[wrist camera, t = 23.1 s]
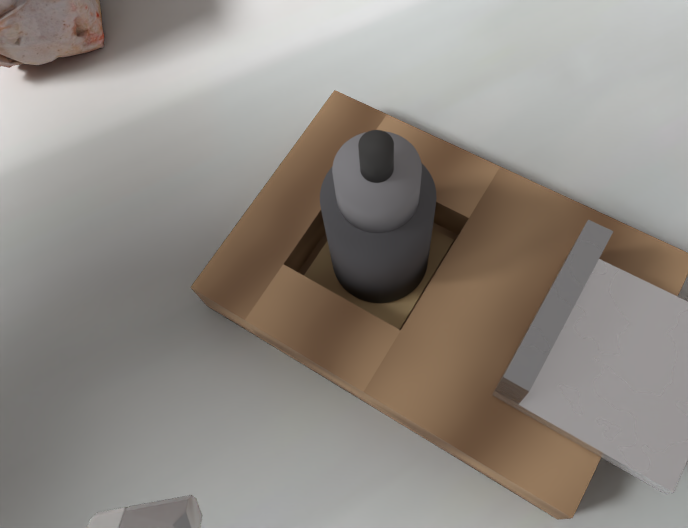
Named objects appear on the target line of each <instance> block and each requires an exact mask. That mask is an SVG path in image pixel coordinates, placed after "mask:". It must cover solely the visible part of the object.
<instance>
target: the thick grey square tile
mask: <svg viewBox="0 0 688 528" xmlns="http://www.w3.org/2000/svg"><path fill="white" fill-rule="evenodd" d="M612 233H613V231H612V230H610V229H608V228H605V227H603V226H601V225H599V224H597V223H595V222H593V221H590V220H588V221H587V222H586V224H585V226H584V228H583V229H582V231H581V233H580V235H579V236H578V238H577V240H576V242H575V243H574V245H573V247H572V249H571V250H570V252H569V254H568V256H567V258H566V260H565V261H564V263H563V265H562V267H561V269H560V271H559V272H558V274H557V276H556V278H555V280H554V282H553V283H552V285H551V287H550V289H549V291H548V293H547V295H546V296H545V298H544V300H543V302H542V304H541V306H540V307H539V309H538V311H537V313H536V315H535V317H534V319H533V320H532V322H531V324H530V326H529V328H528V330H527V331H526V333H525V335H524V337H523V339H522V341H521V343H520V344H519V346H518V348H517V350H516V352H515V354H514V355H513V357H512V359H511V361H510V363H509V365H508V366H507V368H506V370H505V372H504V374H503V376H502V378H501V379H500V381H499V383H498V385H497V387H496V389H495V390H494V392H493V394H492V395H493V396H494V397H496V398H498V399H500V400H501V401H503V402H505V403H507V404H508V405H510V406H512V407H514V408H516V409H517V410H519V411H521V412H523V413H524V414H526V415H528V416H530V417H531V418H533V419H535V420H537V421H538V422H540V423H542V424H544V425H545V426H547V427H549V428H551V429H552V430H554V431H556V432H558V433H559V434H561V435H563V436H565V437H566V438H568V439H570V440H572V441H573V442H575V443H577V444H579V445H580V446H582V447H584V448H586V449H588V450H589V451H591V452H593V453H595V454H596V455H598V456H600V457H602V458H603V459H605V460H607V461H609V462H610V463H612V464H614V465H616V466H617V467H619V468H621V469H623V470H624V471H626V472H628V473H630V474H631V475H633V476H635V477H637V478H638V479H640V480H642V481H644V482H645V483H647V484H649V485H651V486H652V487H654V488H656V489H658V490H660V491H661V492H663V493H665V494H668V493H674V491H675V488H676V486H677V484H678V481H679V479H680V477H681V475H682V472H683V470H684V468H685V465H686V463H687V461H688V301H686V300H684V299H682V298H679V297H677V296H675V295H673V294H671V293H669V292H667V291H665V290H663V289H661V288H659V287H657V286H655V285H652V284H650V283H648V282H646V281H644V280H642V279H640V278H638V277H636V276H634V275H632V274H630V273H628V272H625V271H623V270H621V269H619V268H617V267H615V266H613V265H611V264H609V263H607V262H605V261H603V260H601V259H599V258H600V256H601V254H602V252H603V250H604V248H605V247H606V245H607V243H608V241H609V239H610V237H611V235H612Z"/></svg>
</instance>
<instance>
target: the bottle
mask: <svg viewBox="0 0 688 528" xmlns="http://www.w3.org/2000/svg"><path fill="white" fill-rule="evenodd" d="M436 199H437V197H436V187H435V183H434V181H433V178H432V176H431V174H430V172H429V171H428V170H427V168H426V167H425V166H424V165H423V164H422V163H421V159H420V156H419V154H418V152H417V150H416V149H415V148H414V146H413V145H412V144H411V143H410V142H409V141H407V140H406V139H405V138H403V137H401V136H399V135H397V134H394V133H391V132H386V131H382V130H371V131H368V132H365V133H361V134H359V135H356V136H354V137H352V138H351V139H349V140H348V141H347V142H346V143H344V144H343V145H342V147H341V148H340V149H339V151H338V152H337V154H336V156H335V158H334V161H333V166H332V167H331V168H330V170H329V171H328V173H327V174H326V176H325V178H324V180H323V183H322V186H321V191H320V206H321V211H322V216H323V221H324V226H325V231H326V236H327V241H328V245H329V250H330V255H331V260H332V265H333V269H334V273H335V275H336V278H337V279H338V281H339V283H340V284H341V285H342V287H343V288H344V289H345V290H346V291H347V292H349V293H350V294H352V295H353V296H355V297H357V298H358V299H361V300H364V301H367V302H372V303H387V302H392V301H396V300H399V299H401V298H403V297H405V296H407V295H408V294H410V293H411V292H412V291H413V290H414V289H416V288H417V286H418V285H419V284H420V283H421V281H422V279H423V278H424V275H425V273H426V270H427V265H428V258H429V251H430V244H431V236H432V229H433V222H434V215H435V207H436Z"/></svg>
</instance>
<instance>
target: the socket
mask: <svg viewBox="0 0 688 528" xmlns="http://www.w3.org/2000/svg"><path fill="white" fill-rule="evenodd" d="M371 130H382V131H386V132H391V133H394V134H397V135H399V136H401V137H403V138H405V139H406V140H407V141H409V142H410V143H411V144H412V145H413V146H414V148H415V149H416V150H417V152H418V154H419V156H420V159H421V163H422V164H423V165H424V166H425V167H426V168H427V170H428V171H429V172H430V174H431V176H432V178H433V181H434V183H435V187H436V197H437V199H436V207H435V215H434V222H433V229H432V236H431V244H430V251H429V258H428V265H427V270H426V273H425V275H424V278H423V279H422V281H421V283H420V284H419V285H418V286H417V288H416V289H414V290H413V291H412V292H411V293H410V294H408V295H407V296H405V297H403V298H401V299H399V300H396V301H392V302H387V303H372V302H367V301H364V300H361V299H358V298H357V297H355V296H353V295H352V294H350V293H349V292H347V291H346V290H345V289H344V288H343V287H342V285H341V284H340V283H339V281H338V279H337V278H336V275H335V273H334V269H333V265H332V260H331V255H330V250H329V245H328V241H327V236H326V231H325V226H324V221H323V216H322V211H321V206H320V191H321V186H322V183H323V180H324V178H325V176H326V174H327V173H328V171H329V170H330V168H331V167H332V166H333V161H334V158H335V156H336V154H337V152H338V151H339V149H340V148H341V147H342V145H343V144H344V143H346V142H347V141H348V140H349V139H351V138H352V137H354V136H356V135H359V134H361V133H365V132H368V131H371ZM588 220H590V221H593V222H595V223H597V224H599V225H601V226H603V227H605V228H608V229H610V230H612V231H613V233H612V235H611V237H610V239H609V241H608V243H607V245H606V247H605V248H604V250H603V252H602V254H601V256H600V258H599V259H601V260H603V261H605V262H607V263H609V264H611V265H613V266H615V267H617V268H619V269H621V270H623V271H625V272H628V273H630V274H632V275H634V276H636V277H638V278H640V279H642V280H644V281H646V282H648V283H650V284H652V285H655V286H657V287H659V288H661V289H663V290H665V291H667V292H669V293H671V294H673V295H675V296H678V294H679V292H680V290H681V288H682V286H683V284H684V282H685V279H686V277H687V275H688V253H687V252H685V251H683V250H681V249H678V248H676V247H674V246H672V245H670V244H668V243H665V242H663V241H661V240H659V239H657V238H655V237H652V236H650V235H648V234H646V233H644V232H642V231H639V230H637V229H635V228H633V227H631V226H628V225H626V224H624V223H622V222H620V221H618V220H615V219H613V218H611V217H609V216H607V215H605V214H602V213H600V212H598V211H596V210H594V209H592V208H589V207H587V206H585V205H583V204H581V203H579V202H576V201H574V200H572V199H570V198H568V197H566V196H563V195H561V194H559V193H557V192H555V191H552V190H550V189H548V188H546V187H544V186H542V185H539V184H537V183H535V182H533V181H531V180H529V179H526V178H524V177H522V176H520V175H518V174H516V173H513V172H511V171H509V170H507V169H505V168H503V167H500V166H498V165H496V164H494V163H492V162H490V161H487V160H485V159H483V158H481V157H479V156H477V155H474V154H472V153H470V152H468V151H466V150H463V149H461V148H459V147H457V146H455V145H453V144H450V143H448V142H446V141H444V140H442V139H440V138H437V137H435V136H433V135H431V134H429V133H427V132H424V131H422V130H420V129H418V128H416V127H414V126H411V125H409V124H407V123H405V122H403V121H401V120H398V119H396V118H394V117H392V116H390V115H388V114H385V113H383V112H381V111H379V110H377V109H374V108H372V107H370V106H368V105H366V104H364V103H361V102H359V101H357V100H355V99H353V98H351V97H348V96H346V95H344V94H342V93H340V92H338V91H335V90H334V92H333V93H332V94H331V96H330V97H329V99H328V100H327V101H326V103H325V104H324V105H323V107H322V108H321V109H320V111H319V112H318V114H317V115H316V116H315V118H314V119H313V120H312V122H311V123H310V125H309V126H308V127H307V129H306V130H305V131H304V133H303V134H302V135H301V137H300V138H299V140H298V141H297V142H296V144H295V145H294V146H293V148H292V149H291V151H290V152H289V153H288V155H287V156H286V157H285V159H284V160H283V161H282V163H281V164H280V166H279V167H278V168H277V170H276V171H275V172H274V174H273V175H272V177H271V178H270V179H269V181H268V182H267V183H266V185H265V186H264V187H263V189H262V190H261V192H260V193H259V194H258V196H257V197H256V198H255V200H254V201H253V203H252V204H251V205H250V207H249V208H248V209H247V211H246V212H245V213H244V215H243V216H242V218H241V219H240V220H239V222H238V223H237V224H236V226H235V227H234V228H233V230H232V231H231V233H230V234H229V235H228V237H227V238H226V239H225V241H224V242H223V244H222V245H221V246H220V248H219V249H218V250H217V252H216V253H215V254H214V256H213V257H212V259H211V260H210V261H209V263H208V264H207V265H206V267H205V268H204V270H203V271H202V272H201V274H200V275H199V276H198V278H197V279H196V280H195V282H194V283H193V285H192V286H191V289H192V290H193V291H194V292H195V293H196V294H197V295H198V296H199V297H200V299H201V300H202V301H203V302H204V303H205V304H206V305H207V306H208V307H210V308H211V309H213V310H215V311H216V312H218V313H219V314H221V315H223V316H224V317H226V318H228V319H229V320H231V321H233V322H234V323H236V324H238V325H239V326H241V327H242V328H244V329H246V330H247V331H249V332H251V333H252V334H254V335H256V336H257V337H259V338H261V339H262V340H264V341H265V342H267V343H269V344H270V345H272V346H274V347H275V348H277V349H279V350H280V351H282V352H284V353H285V354H287V355H288V356H290V357H292V358H293V359H295V360H297V361H298V362H300V363H302V364H303V365H305V366H307V367H308V368H310V369H311V370H313V371H315V372H316V373H318V374H320V375H321V376H323V377H325V378H326V379H328V380H330V381H331V382H333V383H334V384H336V385H338V386H339V387H341V388H343V389H344V390H346V391H348V392H349V393H351V394H353V395H354V396H356V397H357V398H359V399H361V400H362V401H364V402H366V403H367V404H369V405H371V406H372V407H374V408H375V409H377V410H379V411H380V412H382V413H384V414H385V415H387V416H389V417H390V418H392V419H394V420H395V421H397V422H398V423H400V424H402V425H403V426H405V427H407V428H408V429H410V430H412V431H413V432H415V433H417V434H418V435H420V436H421V437H423V438H425V439H426V440H428V441H430V442H431V443H433V444H435V445H436V446H438V447H440V448H441V449H443V450H444V451H446V452H448V453H449V454H451V455H453V456H454V457H456V458H458V459H459V460H461V461H463V462H464V463H466V464H467V465H469V466H471V467H472V468H474V469H476V470H477V471H479V472H481V473H482V474H484V475H486V476H487V477H489V478H490V479H492V480H494V481H495V482H497V483H499V484H500V485H502V486H504V487H505V488H507V489H509V490H510V491H512V492H513V493H515V494H517V495H518V496H520V497H522V498H523V499H525V500H527V501H528V502H530V503H532V504H533V505H535V506H536V507H538V508H540V509H541V510H543V511H545V512H546V513H548V514H550V515H551V516H553V517H555V518H556V519H569V518H573V516H574V514H575V512H576V510H577V508H578V506H579V503H580V501H581V499H582V497H583V495H584V493H585V491H586V489H587V486H588V484H589V482H590V480H591V478H592V476H593V474H594V472H595V470H596V467H597V465H598V463H599V461H600V459H601V457H600V456H598V455H596V454H595V453H593V452H591V451H589V450H588V449H586V448H584V447H582V446H580V445H579V444H577V443H575V442H573V441H572V440H570V439H568V438H566V437H565V436H563V435H561V434H559V433H558V432H556V431H554V430H552V429H551V428H549V427H547V426H545V425H544V424H542V423H540V422H538V421H537V420H535V419H533V418H531V417H530V416H528V415H526V414H524V413H523V412H521V411H519V410H517V409H516V408H514V407H512V406H510V405H508V404H507V403H505V402H503V401H501V400H500V399H498V398H496V397H494V396H493V395H492V394H493V392H494V390H495V389H496V387H497V385H498V383H499V381H500V379H501V378H502V376H503V374H504V372H505V370H506V368H507V366H508V365H509V363H510V361H511V359H512V357H513V355H514V354H515V352H516V350H517V348H518V346H519V344H520V343H521V341H522V339H523V337H524V335H525V333H526V331H527V330H528V328H529V326H530V324H531V322H532V320H533V319H534V317H535V315H536V313H537V311H538V309H539V307H540V306H541V304H542V302H543V300H544V298H545V296H546V295H547V293H548V291H549V289H550V287H551V285H552V283H553V282H554V280H555V278H556V276H557V274H558V272H559V271H560V269H561V267H562V265H563V263H564V261H565V260H566V258H567V256H568V254H569V252H570V250H571V249H572V247H573V245H574V243H575V242H576V240H577V238H578V236H579V235H580V233H581V231H582V229H583V228H584V226H585V224H586V222H587V221H588Z"/></svg>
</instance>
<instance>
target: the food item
mask: <svg viewBox="0 0 688 528" xmlns="http://www.w3.org/2000/svg"><path fill="white" fill-rule="evenodd" d="M102 47H104V33H103V28H102V16H101V7H100V0H0V66H4V67H9V68H10V67H11V66H13V65H20V64H32V65H41V64H45V63H48V62H52V61H53V60H55V59H56V58H58V57H67V56H72V55H77V54H82V53H87V52H90V51H93V50H96V49H99V48H102Z"/></svg>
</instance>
